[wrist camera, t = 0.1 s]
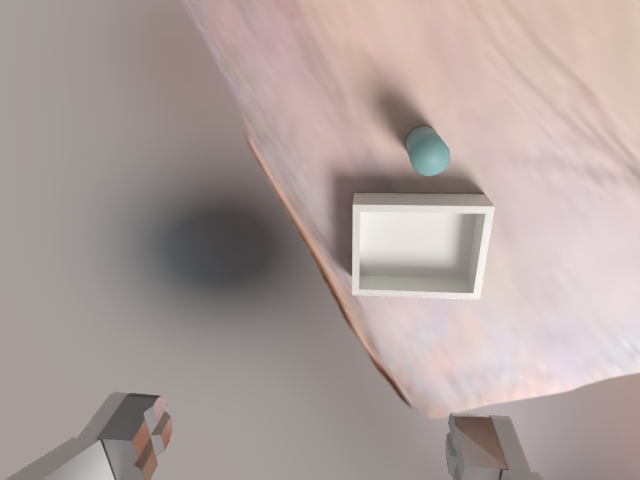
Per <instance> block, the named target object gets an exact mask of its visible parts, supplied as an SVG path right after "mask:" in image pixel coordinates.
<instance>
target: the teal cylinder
mask: <svg viewBox="0 0 640 480" xmlns="http://www.w3.org/2000/svg"><path fill="white" fill-rule="evenodd" d="M406 150H407V152H408V155H409V158H410V161H411V163H412V166H413V168H414V169H415V170H416V171H417V172H418V173H419V174H421V175H425V176H433V175H437V174H439V173H440V172H442V171H443V170H444V169H445V168H446V167H447V165H448V163H449V160H450V152H449V149H448V147H447V145H446V144H445V143H444V141H443V140H442V139H441V137H440V136H439V135H438V134H437V132H436V131H435V130H434V129H432V128H431V127H428V126H420V127H417V128H415V129H413V130H412V131H411V132H410V133H409V134H408V136H407V138H406Z"/></svg>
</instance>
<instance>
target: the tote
mask: <svg viewBox="0 0 640 480" xmlns="http://www.w3.org/2000/svg"><path fill="white" fill-rule="evenodd" d="M494 209H495V206H494V205H493V203H492V202H491V201H490V200H489V198H488V197H487V196H486V194H453V193H354V198H353V238H352V295H365V296H393V297H420V298H447V299H475V300H480V295H481V289H482V283H483V276H484V270H485V264H486V258H487V252H488V246H489V240H490V234H491V227H492V221H493V215H494Z"/></svg>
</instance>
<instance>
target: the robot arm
mask: <svg viewBox="0 0 640 480" xmlns="http://www.w3.org/2000/svg"><path fill="white" fill-rule="evenodd" d="M167 406H168V404H167V401H166V398H165V397H164V396H158V395H147V394H136V393H121V392H114V393H112V394H111V395H109V396H108V398H107V399H106V400H105V402H104V403H103V404H102V406H101V407H100V408H99V410H98V411H97V412H96V414H95V415H94V416H93V418H92V419H91V420H90V422H89V423H88V424H87V426H86V427H85V428H84V430H83V431H82V432H81V434H80V435H79V436H78V438H71V439H70V440H68V441H66V442H65V443H63V444H62V445H60V446H58V447H57V448H55V449H54V450H52V451H50V452H49V453H47V454H46V455H44V456H42V457H41V458H39V459H38V460H36V461H34V462H33V463H31V464H29V465H28V466H26V467H25V468H23V469H21V470H20V471H18V472H17V473H15V474H13V475H12V476H10V477H9V478H7V479H5V480H151V478H152V475H153V474H154V472H155V470H156V468H157V466H158V463H157V458H156V457H157V456H159V455H160V454H161V453H163V452H164V451H165V450H166V448H167V446H168V444H169V441H170V437H171V433H172V420H171V416H170V415H168V413H167V412H165V409H166V408H167ZM448 424H449V429H450V433H448V434H447V437H446V460H447V467H448V472H449V473H450V475H451V476H452V477H453V480H545V479H544V478H543V477H542V476H541V475H540V474H539V473H538V472H532V471H531V469H530V466H529V463H528V461H527V459H526V456H525V454H524V451H523V448H522V446H521V443H520V441H519V438H518V435H517V433H516V430H515V428H514V425H513V423H512V420H511V419H510V418H509V417H508V416H495V415H489V416H488V415H478V414H460V413H451V414H450V416H449V422H448Z"/></svg>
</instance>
